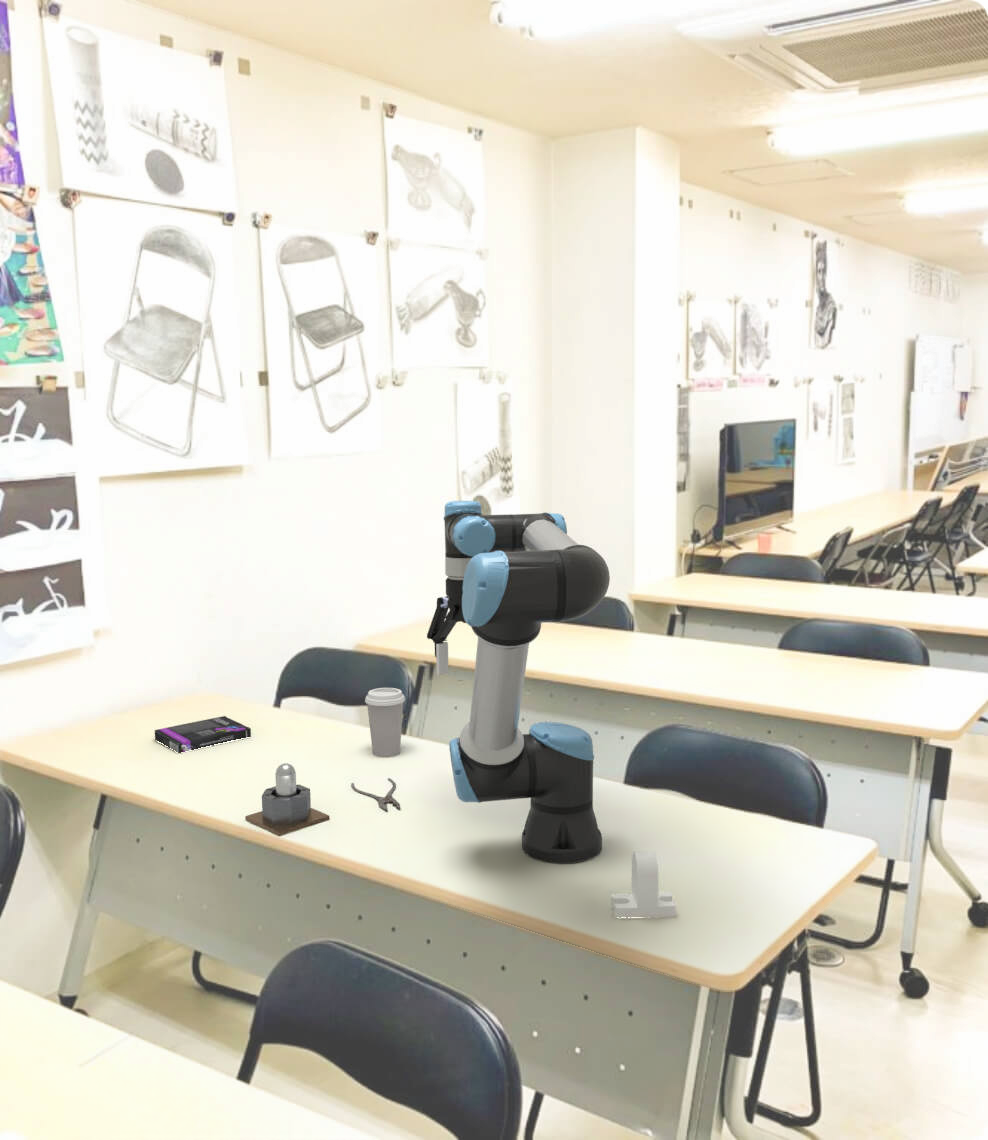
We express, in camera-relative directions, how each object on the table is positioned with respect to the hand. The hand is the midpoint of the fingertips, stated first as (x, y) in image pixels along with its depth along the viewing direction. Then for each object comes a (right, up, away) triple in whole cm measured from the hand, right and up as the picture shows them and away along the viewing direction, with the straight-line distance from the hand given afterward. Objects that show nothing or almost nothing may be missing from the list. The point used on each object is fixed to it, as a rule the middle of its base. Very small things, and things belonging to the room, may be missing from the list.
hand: (465, 678), depth 229 cm
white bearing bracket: (+30, -34, -47) cm, 65 cm away
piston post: (-36, -28, -5) cm, 46 cm away
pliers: (-17, -26, +9) cm, 32 cm away
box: (-67, -21, +49) cm, 85 cm away
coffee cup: (-20, -21, +36) cm, 47 cm away
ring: (-36, -27, -6) cm, 45 cm away
